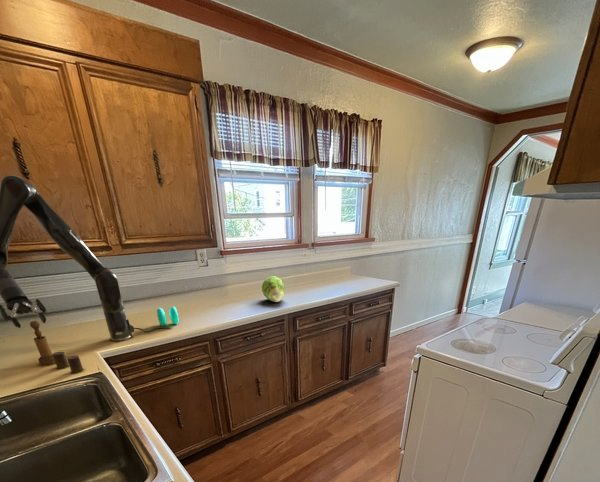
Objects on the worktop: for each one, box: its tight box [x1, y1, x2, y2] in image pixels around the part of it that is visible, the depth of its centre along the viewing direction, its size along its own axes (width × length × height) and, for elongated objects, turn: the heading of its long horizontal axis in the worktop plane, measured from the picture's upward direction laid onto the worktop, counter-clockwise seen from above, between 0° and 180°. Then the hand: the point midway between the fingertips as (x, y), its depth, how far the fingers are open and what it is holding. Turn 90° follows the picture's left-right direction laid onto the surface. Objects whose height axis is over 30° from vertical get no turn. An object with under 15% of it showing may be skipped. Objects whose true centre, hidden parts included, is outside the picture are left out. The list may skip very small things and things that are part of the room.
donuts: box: [156, 306, 180, 327], centre depth 185 cm, size 10×10×10 cm
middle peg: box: [52, 351, 70, 370], centre depth 133 cm, size 4×4×6 cm
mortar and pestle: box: [29, 320, 56, 367], centre depth 134 cm, size 7×6×18 cm
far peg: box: [66, 354, 84, 374], centre depth 129 cm, size 4×4×6 cm
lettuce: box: [261, 275, 286, 303], centre depth 236 cm, size 17×23×16 cm
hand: (32, 324), depth 132 cm, fingers open, 8 cm apart
